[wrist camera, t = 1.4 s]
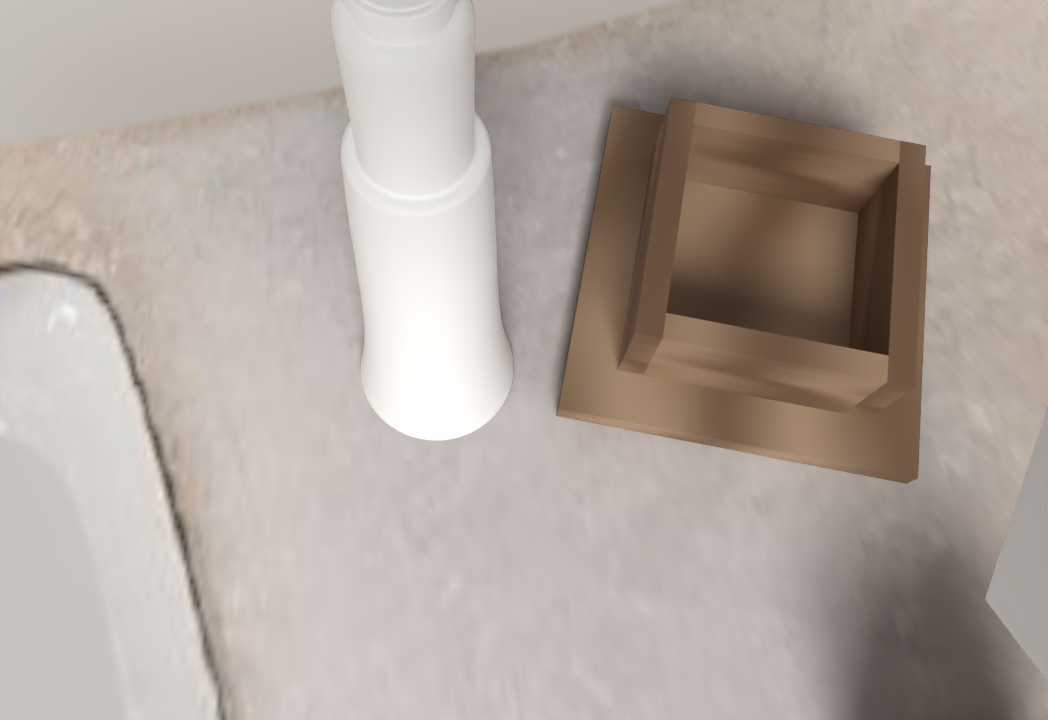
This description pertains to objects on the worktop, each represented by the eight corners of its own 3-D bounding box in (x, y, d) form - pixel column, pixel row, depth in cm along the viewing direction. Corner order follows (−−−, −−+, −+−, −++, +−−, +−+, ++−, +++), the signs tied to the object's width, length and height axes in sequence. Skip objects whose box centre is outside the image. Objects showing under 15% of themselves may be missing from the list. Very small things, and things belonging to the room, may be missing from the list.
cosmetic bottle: (409, 470, 36) (327, 169, 15) (333, 343, 37) (166, -86, 17) (542, 392, 37) (632, 18, 17) (463, 273, 39) (457, -206, 18)
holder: (920, 177, 42) (977, 112, 37) (906, 483, 37) (970, 452, 32) (610, 118, 42) (627, 45, 37) (556, 415, 37) (569, 375, 32)
